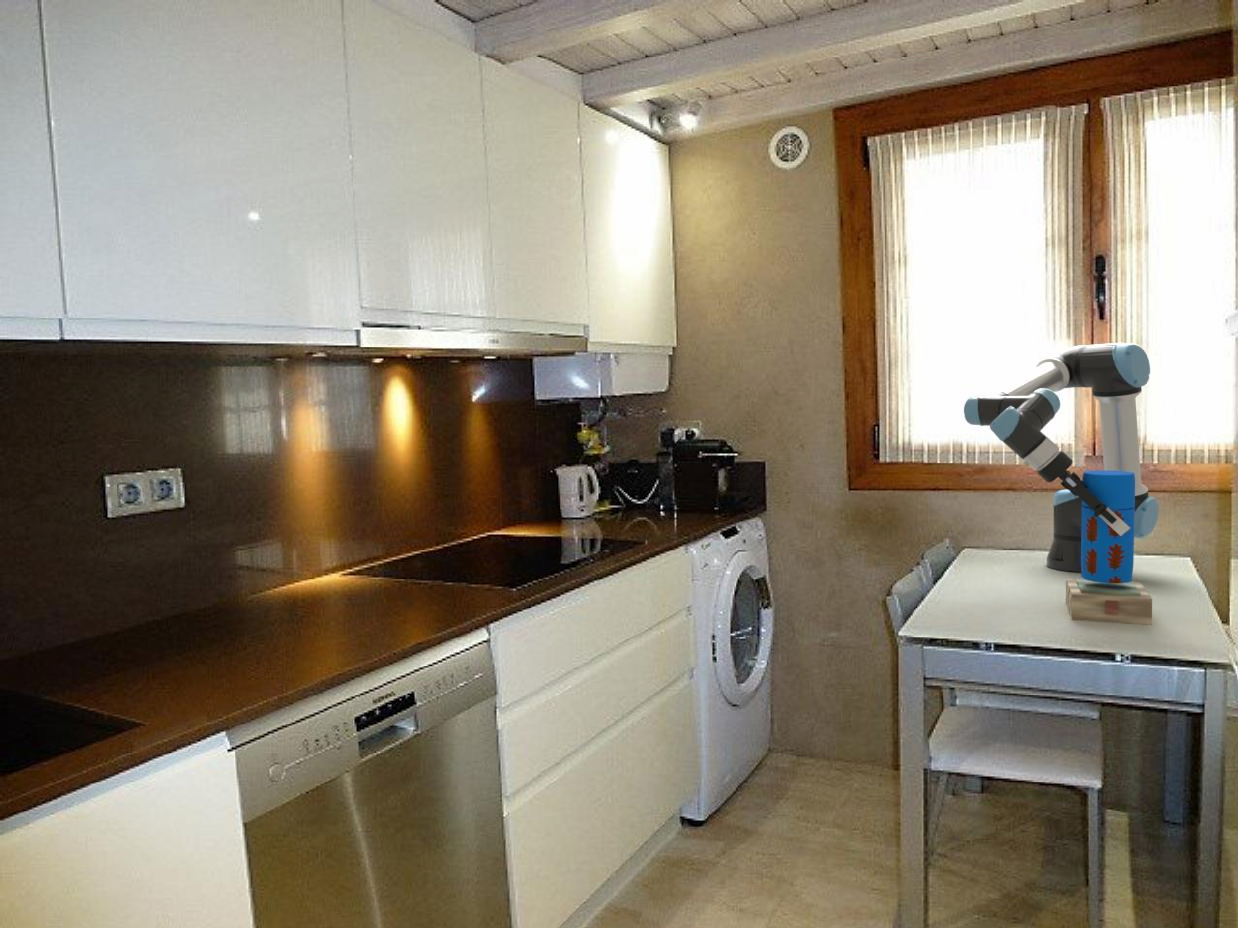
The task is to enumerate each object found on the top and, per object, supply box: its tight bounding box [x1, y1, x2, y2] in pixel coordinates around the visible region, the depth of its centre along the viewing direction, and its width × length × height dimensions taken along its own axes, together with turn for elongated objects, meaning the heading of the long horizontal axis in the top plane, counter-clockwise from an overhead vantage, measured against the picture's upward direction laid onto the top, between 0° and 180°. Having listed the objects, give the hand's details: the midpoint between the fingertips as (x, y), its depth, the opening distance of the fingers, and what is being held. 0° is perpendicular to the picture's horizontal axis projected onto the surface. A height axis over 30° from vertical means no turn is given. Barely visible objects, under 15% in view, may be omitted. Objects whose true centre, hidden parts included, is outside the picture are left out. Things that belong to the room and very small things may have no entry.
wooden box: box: [1065, 578, 1153, 626], centre depth 208 cm, size 17×16×7 cm
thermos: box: [1080, 469, 1135, 583], centre depth 207 cm, size 11×11×25 cm
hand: (1121, 527), depth 206 cm, fingers closed on thermos, 11 cm apart
